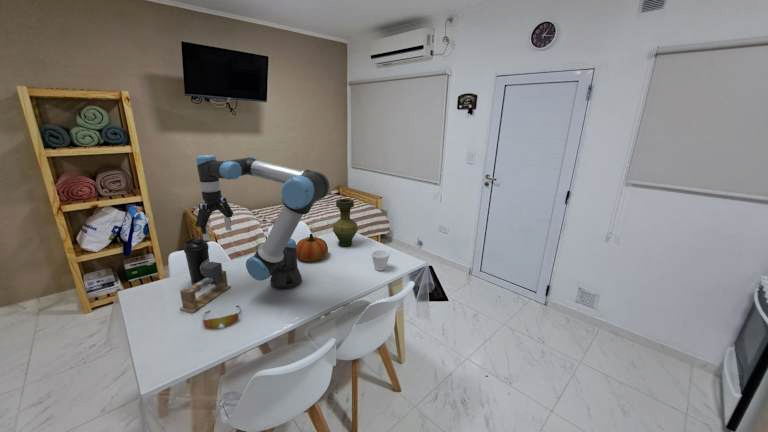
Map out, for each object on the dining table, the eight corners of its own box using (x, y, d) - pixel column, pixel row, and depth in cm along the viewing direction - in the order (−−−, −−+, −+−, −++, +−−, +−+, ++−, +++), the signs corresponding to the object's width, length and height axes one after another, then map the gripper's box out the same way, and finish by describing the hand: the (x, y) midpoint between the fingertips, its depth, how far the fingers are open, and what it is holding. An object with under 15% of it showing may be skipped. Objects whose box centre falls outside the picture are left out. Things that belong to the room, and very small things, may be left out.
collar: (214, 278, 148) (211, 261, 145) (223, 280, 146) (221, 263, 144) (204, 284, 142) (201, 267, 139) (214, 286, 141) (211, 268, 138)
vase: (329, 248, 198) (328, 203, 189) (337, 239, 214) (336, 197, 205) (354, 250, 196) (354, 205, 187) (360, 241, 211) (360, 198, 202)
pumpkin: (313, 248, 199) (312, 225, 194) (334, 256, 188) (334, 232, 183) (288, 258, 184) (286, 234, 179) (310, 267, 173) (309, 242, 168)
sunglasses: (200, 333, 119) (199, 321, 118) (205, 316, 132) (204, 305, 131) (241, 325, 124) (239, 313, 123) (241, 309, 138) (240, 298, 137)
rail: (218, 285, 152) (216, 268, 149) (231, 287, 150) (228, 270, 148) (180, 310, 132) (176, 291, 129) (193, 313, 130) (190, 294, 127)
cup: (368, 270, 171) (368, 255, 168) (375, 263, 180) (375, 248, 177) (385, 274, 167) (385, 258, 165) (391, 266, 176) (392, 251, 173)
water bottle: (203, 289, 148) (196, 244, 141) (185, 286, 150) (176, 242, 143) (218, 279, 158) (212, 237, 151) (200, 276, 160) (193, 234, 153)
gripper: (224, 184, 151) (230, 225, 157) (180, 196, 128) (189, 243, 134) (237, 185, 149) (243, 227, 155) (195, 197, 126) (203, 245, 132)
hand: (218, 235), depth 145 cm, fingers open, 13 cm apart
